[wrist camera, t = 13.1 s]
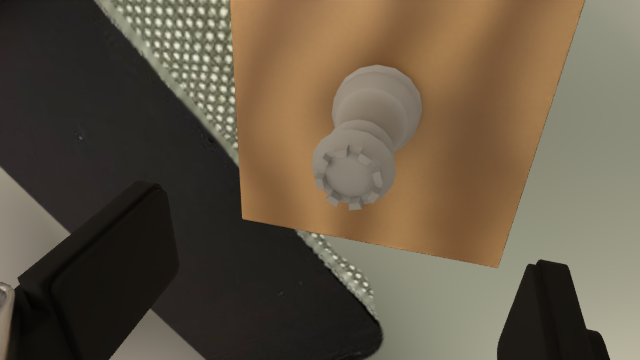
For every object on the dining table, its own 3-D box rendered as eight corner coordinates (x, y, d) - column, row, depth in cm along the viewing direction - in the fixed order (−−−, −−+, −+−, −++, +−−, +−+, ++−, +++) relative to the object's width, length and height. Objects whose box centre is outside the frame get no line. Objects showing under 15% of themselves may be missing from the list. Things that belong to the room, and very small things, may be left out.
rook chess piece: (442, 106, 22) (437, 187, 15) (378, 160, 24) (350, 250, 18) (378, 42, 21) (344, 97, 15) (319, 103, 24) (266, 175, 17)
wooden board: (632, -158, 16) (638, -161, 16) (497, 262, 26) (497, 268, 26) (225, -164, 19) (219, -166, 19) (245, 214, 29) (241, 219, 29)
